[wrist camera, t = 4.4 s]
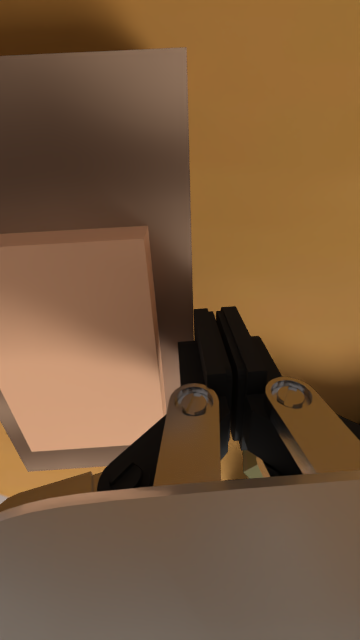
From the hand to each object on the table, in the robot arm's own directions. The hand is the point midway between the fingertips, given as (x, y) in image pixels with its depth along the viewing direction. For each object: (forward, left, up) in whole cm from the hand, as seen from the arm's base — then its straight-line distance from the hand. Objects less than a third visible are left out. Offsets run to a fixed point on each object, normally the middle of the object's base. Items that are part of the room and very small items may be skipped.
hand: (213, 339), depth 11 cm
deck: (0, -6, -5) cm, 7 cm away
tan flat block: (0, -5, -1) cm, 5 cm away
